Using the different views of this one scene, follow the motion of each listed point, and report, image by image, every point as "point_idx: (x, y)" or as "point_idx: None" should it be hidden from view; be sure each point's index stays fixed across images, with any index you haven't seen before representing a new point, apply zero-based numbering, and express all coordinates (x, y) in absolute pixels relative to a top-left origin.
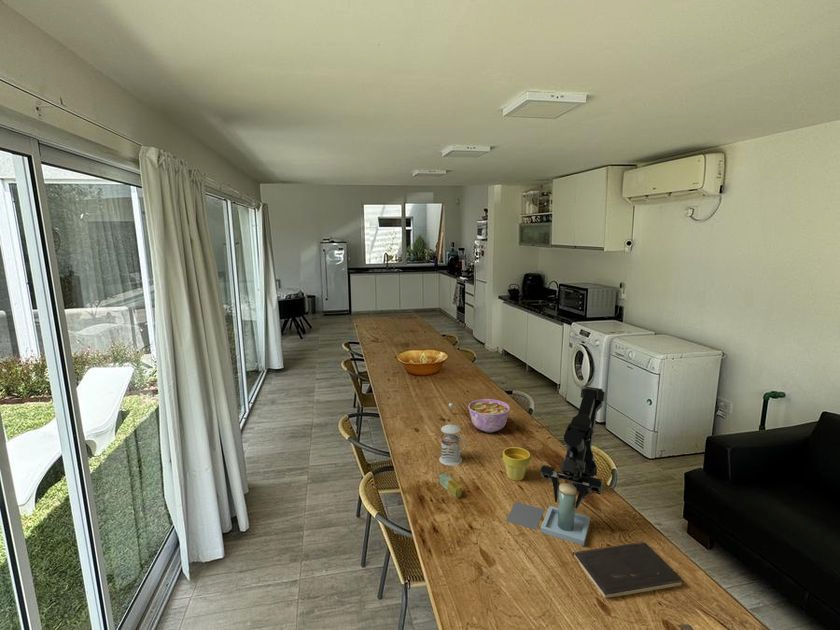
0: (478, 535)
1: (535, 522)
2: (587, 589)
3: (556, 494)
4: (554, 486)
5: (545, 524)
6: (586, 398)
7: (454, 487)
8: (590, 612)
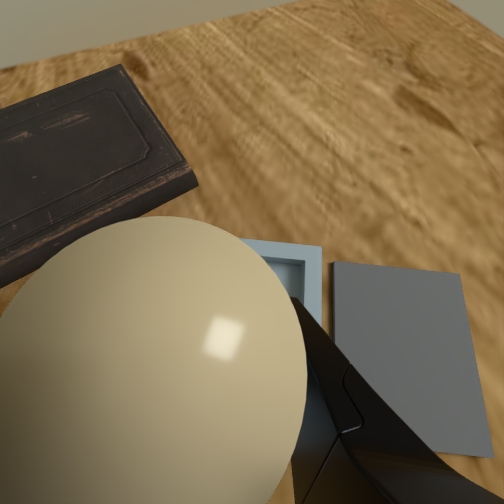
0: (492, 175)
1: (348, 308)
2: (165, 93)
3: (303, 331)
4: (373, 405)
5: (307, 276)
6: None
7: None
8: (164, 47)
